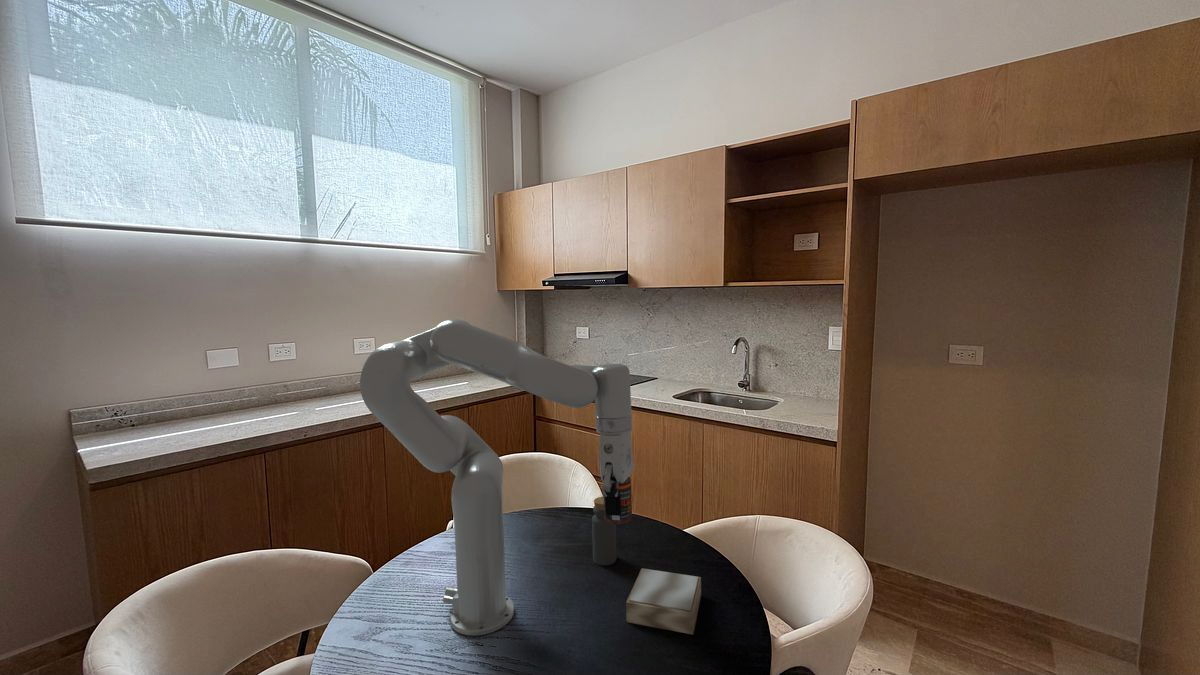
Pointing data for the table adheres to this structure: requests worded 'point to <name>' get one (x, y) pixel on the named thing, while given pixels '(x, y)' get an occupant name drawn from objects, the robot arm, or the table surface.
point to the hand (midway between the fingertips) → (617, 507)
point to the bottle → (603, 536)
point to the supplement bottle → (625, 504)
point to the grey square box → (664, 601)
